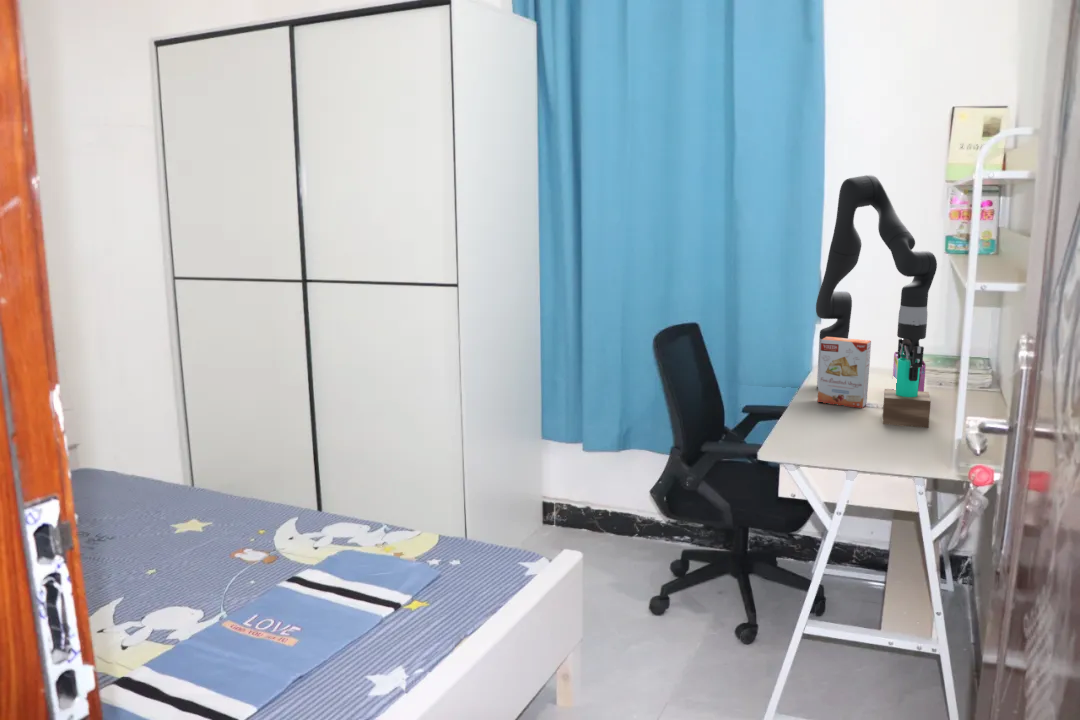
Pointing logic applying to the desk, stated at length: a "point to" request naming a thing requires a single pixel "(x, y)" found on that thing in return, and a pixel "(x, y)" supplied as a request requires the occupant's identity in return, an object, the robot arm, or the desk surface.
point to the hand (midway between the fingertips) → (908, 377)
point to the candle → (906, 380)
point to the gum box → (921, 374)
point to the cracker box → (844, 371)
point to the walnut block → (906, 409)
